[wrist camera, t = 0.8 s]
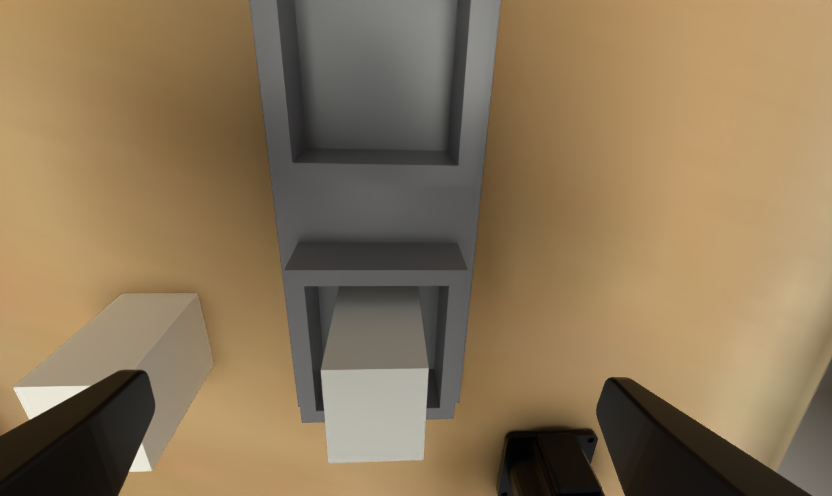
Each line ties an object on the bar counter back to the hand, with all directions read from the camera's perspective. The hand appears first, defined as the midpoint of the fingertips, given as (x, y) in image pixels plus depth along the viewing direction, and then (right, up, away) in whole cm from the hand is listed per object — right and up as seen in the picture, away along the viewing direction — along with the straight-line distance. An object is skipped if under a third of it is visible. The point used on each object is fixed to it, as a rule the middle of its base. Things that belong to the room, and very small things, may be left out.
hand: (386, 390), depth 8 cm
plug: (-14, -2, +15) cm, 20 cm away
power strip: (-1, +5, +13) cm, 14 cm away
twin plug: (-1, -1, +14) cm, 14 cm away
